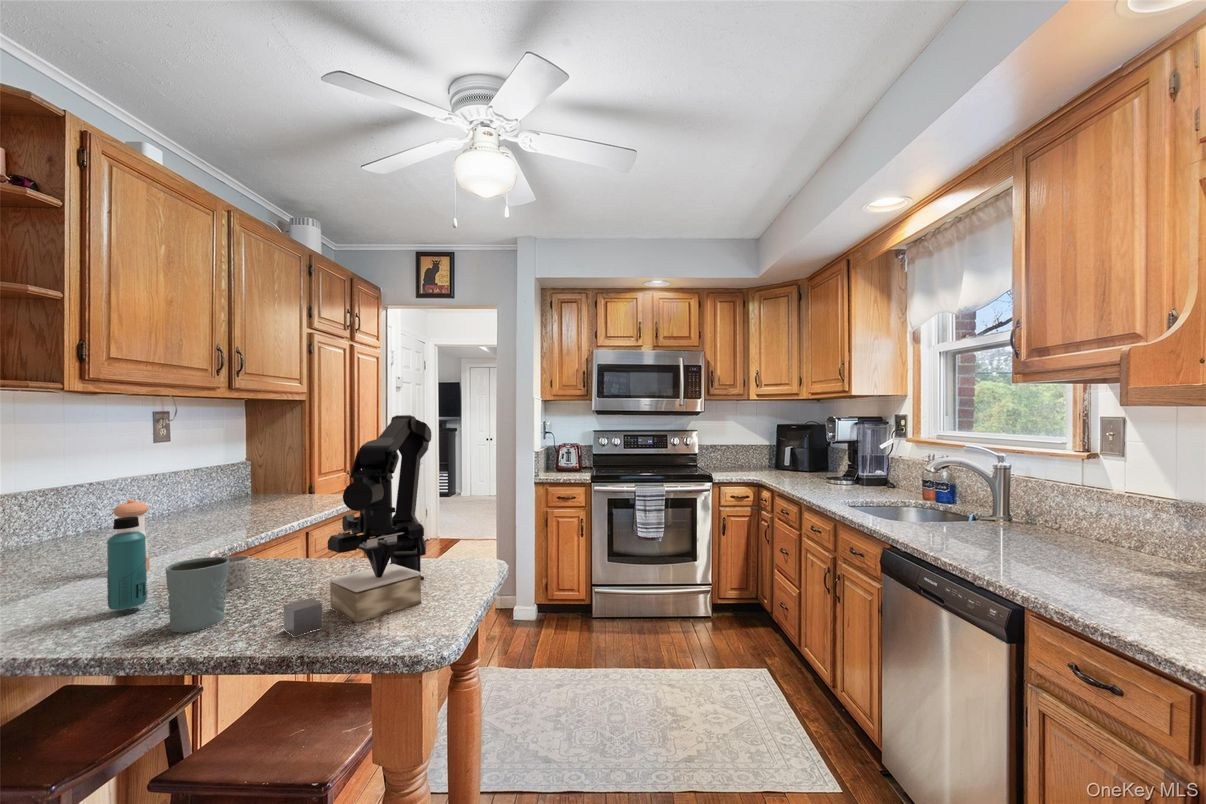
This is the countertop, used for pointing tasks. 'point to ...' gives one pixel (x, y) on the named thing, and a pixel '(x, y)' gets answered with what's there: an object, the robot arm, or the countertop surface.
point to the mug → (238, 572)
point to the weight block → (302, 616)
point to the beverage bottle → (126, 566)
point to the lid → (374, 578)
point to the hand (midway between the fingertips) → (378, 577)
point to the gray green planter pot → (196, 593)
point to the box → (375, 599)
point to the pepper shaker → (136, 510)
